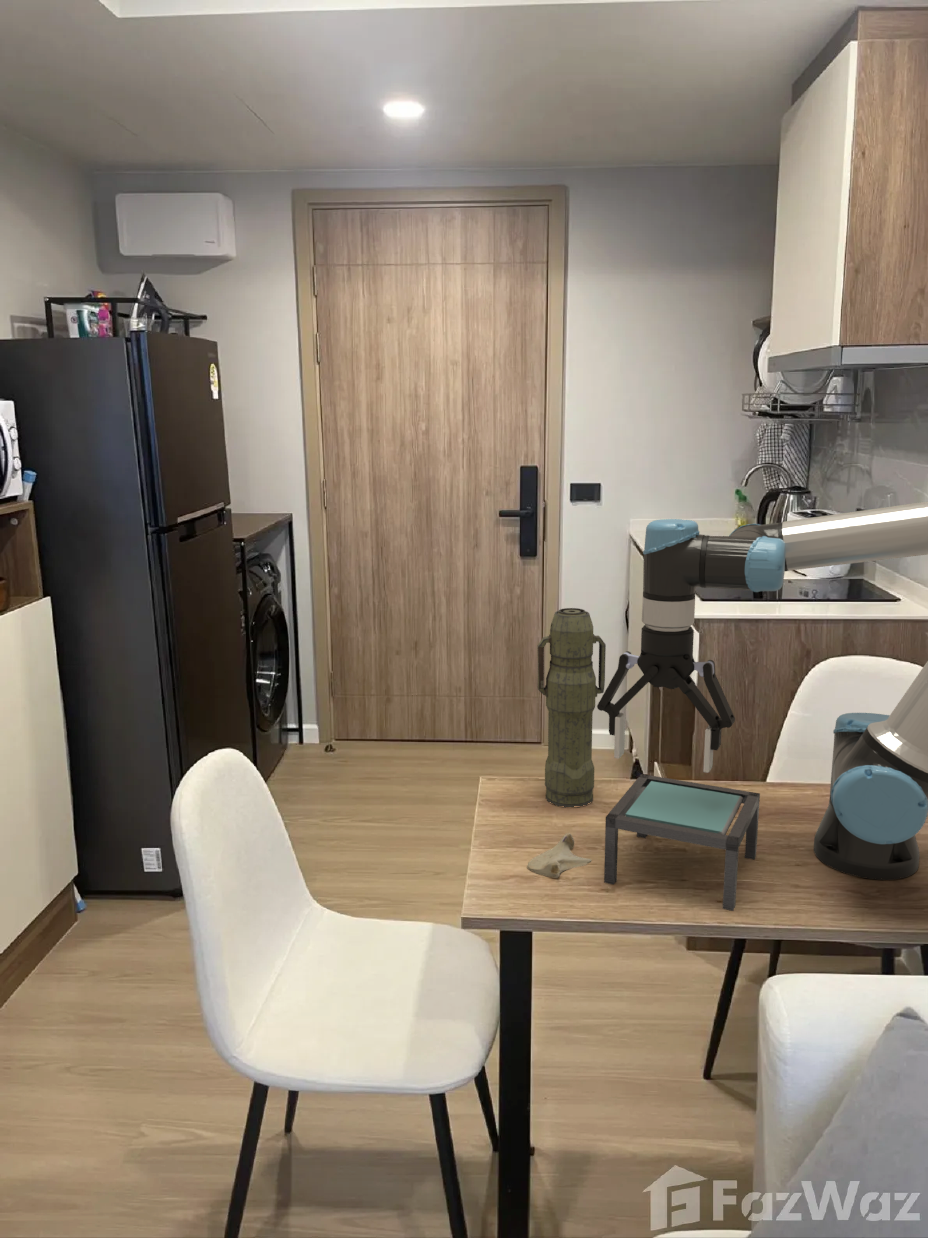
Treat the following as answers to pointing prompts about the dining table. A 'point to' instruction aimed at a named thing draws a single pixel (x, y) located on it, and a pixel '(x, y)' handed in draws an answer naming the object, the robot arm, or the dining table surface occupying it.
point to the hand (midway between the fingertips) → (662, 762)
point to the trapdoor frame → (686, 831)
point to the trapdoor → (686, 807)
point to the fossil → (557, 859)
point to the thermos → (570, 706)
